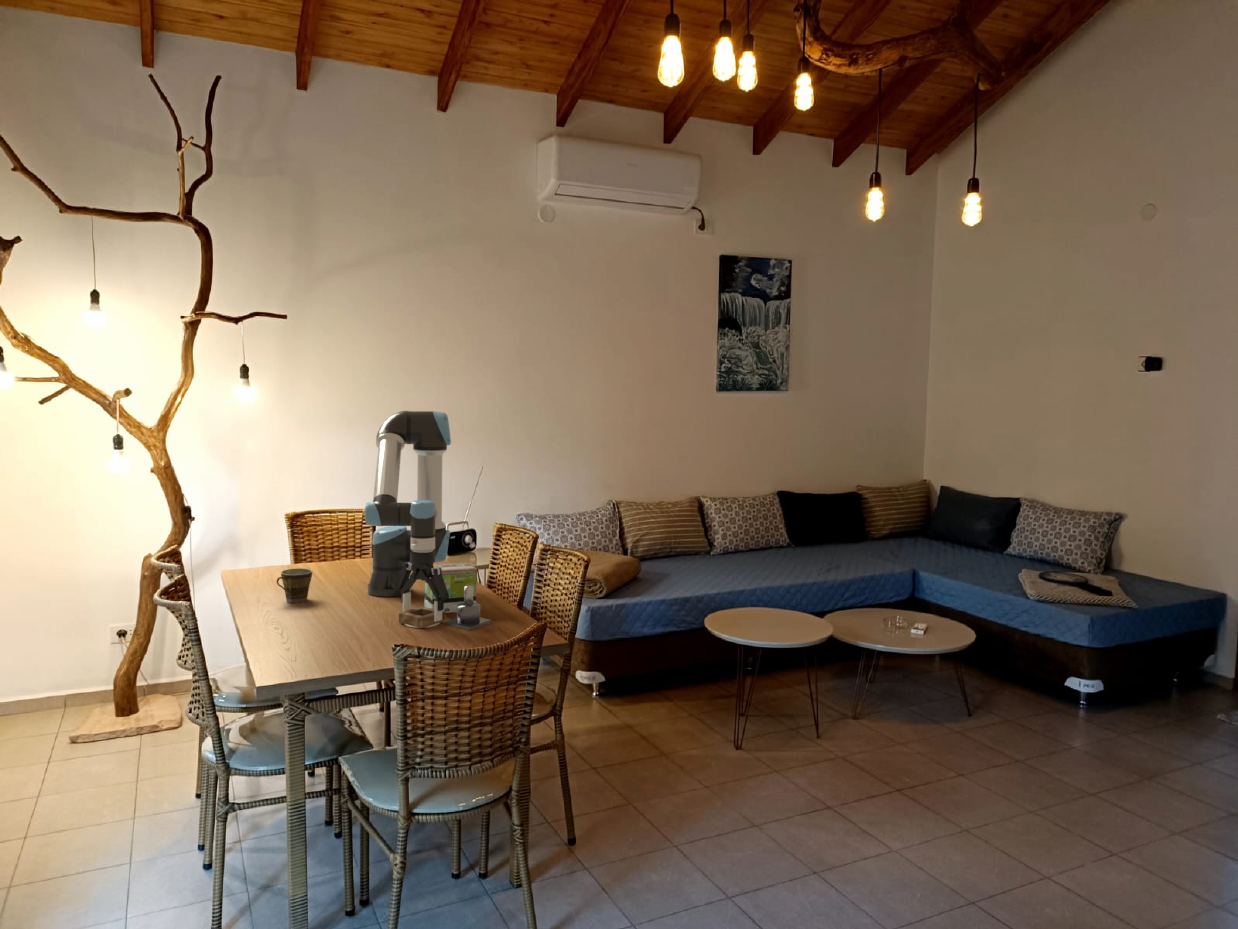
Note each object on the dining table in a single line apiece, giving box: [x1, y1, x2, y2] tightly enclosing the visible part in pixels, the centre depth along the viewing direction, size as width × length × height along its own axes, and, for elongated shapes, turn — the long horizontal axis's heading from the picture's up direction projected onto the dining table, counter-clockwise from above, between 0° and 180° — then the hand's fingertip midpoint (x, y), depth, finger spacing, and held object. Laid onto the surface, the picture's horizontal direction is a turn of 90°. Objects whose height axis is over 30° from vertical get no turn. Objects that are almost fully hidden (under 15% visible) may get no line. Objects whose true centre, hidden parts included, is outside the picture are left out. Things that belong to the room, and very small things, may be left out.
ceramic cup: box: [276, 567, 313, 604], centre depth 291 cm, size 13×10×10 cm
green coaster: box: [404, 622, 441, 629], centre depth 271 cm, size 11×11×1 cm
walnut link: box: [398, 606, 446, 629], centre depth 271 cm, size 10×10×3 cm
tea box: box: [423, 562, 478, 614], centre depth 287 cm, size 15×10×15 cm, turn 117°
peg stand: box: [444, 585, 492, 631], centre depth 271 cm, size 10×10×12 cm
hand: (422, 616), depth 271 cm, fingers open, 13 cm apart
